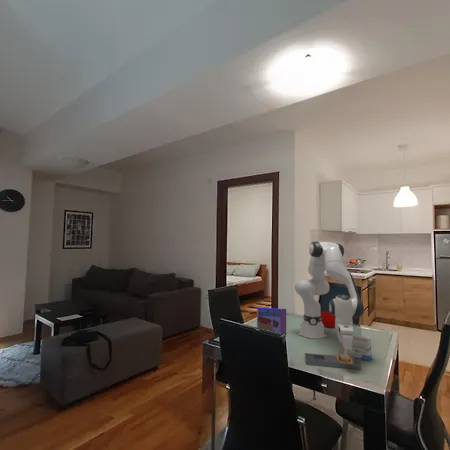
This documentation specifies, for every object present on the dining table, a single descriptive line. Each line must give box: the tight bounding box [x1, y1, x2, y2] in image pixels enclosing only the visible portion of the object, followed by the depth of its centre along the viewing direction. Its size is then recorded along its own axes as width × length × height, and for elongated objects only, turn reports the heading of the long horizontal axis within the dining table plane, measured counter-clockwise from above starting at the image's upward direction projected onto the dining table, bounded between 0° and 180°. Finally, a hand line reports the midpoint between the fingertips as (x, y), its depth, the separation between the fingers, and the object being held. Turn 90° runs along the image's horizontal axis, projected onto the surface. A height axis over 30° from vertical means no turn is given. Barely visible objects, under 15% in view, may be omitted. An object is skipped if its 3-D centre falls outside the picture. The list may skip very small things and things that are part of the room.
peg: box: [339, 342, 350, 361], centre depth 157 cm, size 4×4×10 cm
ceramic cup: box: [321, 311, 336, 329], centre depth 231 cm, size 13×17×10 cm
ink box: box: [352, 334, 373, 362], centre depth 167 cm, size 9×5×12 cm, turn 45°
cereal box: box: [256, 307, 287, 336], centre depth 179 cm, size 17×5×24 cm, turn 82°
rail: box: [304, 353, 362, 371], centre depth 158 cm, size 10×27×3 cm, turn 79°
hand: (344, 352), depth 157 cm, fingers closed on peg, 4 cm apart
